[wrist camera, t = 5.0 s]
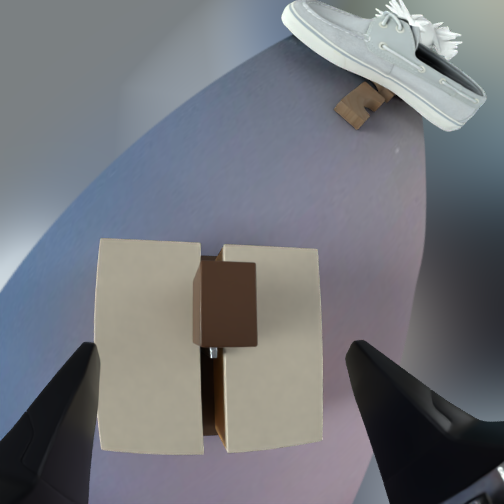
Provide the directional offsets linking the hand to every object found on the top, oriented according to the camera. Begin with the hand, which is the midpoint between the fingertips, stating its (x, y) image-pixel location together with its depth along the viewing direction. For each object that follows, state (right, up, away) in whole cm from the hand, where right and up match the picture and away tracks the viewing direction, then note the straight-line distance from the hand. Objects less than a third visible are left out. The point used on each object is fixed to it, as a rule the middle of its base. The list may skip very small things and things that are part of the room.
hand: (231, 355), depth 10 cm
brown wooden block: (-2, -1, +10) cm, 10 cm away
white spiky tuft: (+22, +30, +23) cm, 44 cm away
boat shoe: (+15, +24, +19) cm, 34 cm away
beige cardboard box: (-3, -3, +10) cm, 10 cm away
